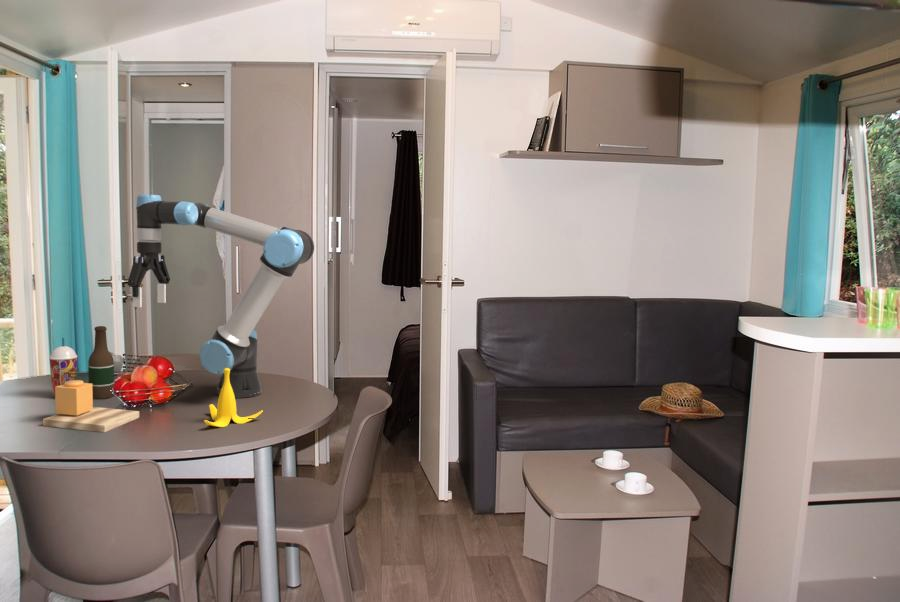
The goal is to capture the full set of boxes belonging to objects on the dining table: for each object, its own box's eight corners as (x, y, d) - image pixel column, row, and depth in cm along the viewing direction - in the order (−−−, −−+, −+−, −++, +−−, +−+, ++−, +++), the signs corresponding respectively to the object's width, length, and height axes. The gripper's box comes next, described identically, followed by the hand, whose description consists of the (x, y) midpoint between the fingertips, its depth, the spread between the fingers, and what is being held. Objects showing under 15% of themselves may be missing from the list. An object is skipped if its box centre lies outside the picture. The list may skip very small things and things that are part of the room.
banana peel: (211, 414, 226) (211, 362, 224) (264, 420, 221) (264, 367, 219) (177, 428, 210) (177, 372, 208) (234, 435, 205) (234, 378, 203)
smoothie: (77, 399, 237) (75, 339, 235) (48, 400, 234) (47, 340, 231) (79, 393, 244) (78, 335, 242) (52, 394, 241) (50, 336, 239)
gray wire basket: (83, 378, 267) (82, 352, 265) (102, 372, 278) (102, 347, 277) (149, 383, 263) (149, 356, 262) (166, 376, 274) (166, 351, 273)
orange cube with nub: (92, 409, 216) (92, 380, 215) (76, 415, 209) (76, 385, 208) (72, 407, 217) (71, 378, 216) (55, 413, 210) (55, 383, 209)
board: (139, 417, 218) (139, 388, 217) (104, 432, 203) (104, 401, 202) (81, 411, 222) (81, 383, 221) (43, 425, 206) (42, 395, 205)
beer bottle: (90, 394, 243) (88, 325, 240) (115, 393, 246) (114, 324, 243) (87, 400, 236) (86, 328, 233) (113, 399, 239) (112, 328, 236)
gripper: (160, 240, 250) (161, 300, 252) (114, 241, 226) (115, 308, 228) (180, 241, 249) (180, 301, 251) (136, 242, 224) (136, 309, 227)
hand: (149, 304), depth 239 cm, fingers open, 13 cm apart
